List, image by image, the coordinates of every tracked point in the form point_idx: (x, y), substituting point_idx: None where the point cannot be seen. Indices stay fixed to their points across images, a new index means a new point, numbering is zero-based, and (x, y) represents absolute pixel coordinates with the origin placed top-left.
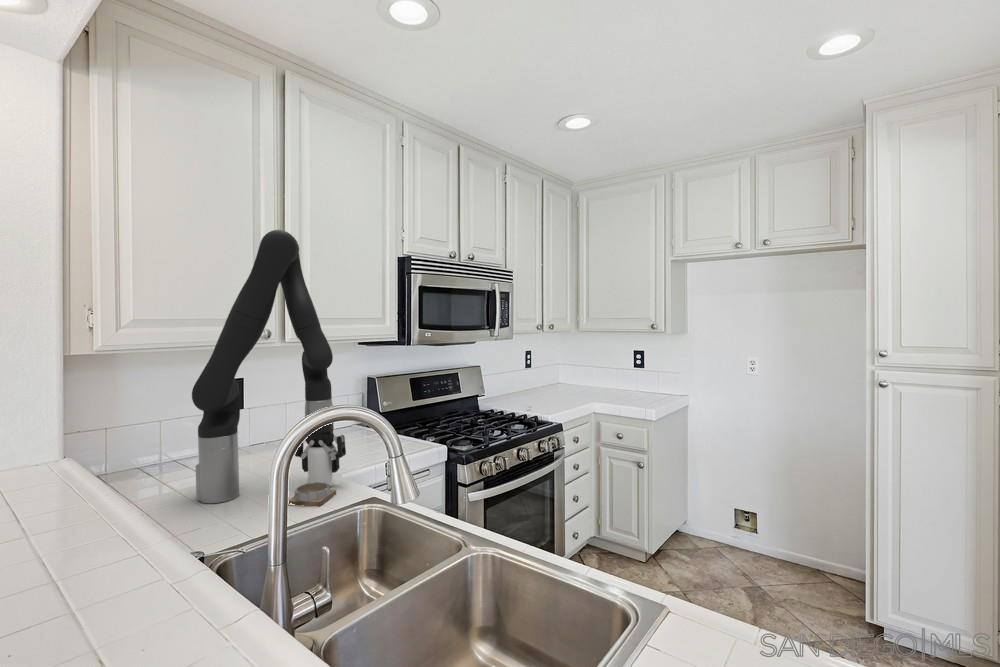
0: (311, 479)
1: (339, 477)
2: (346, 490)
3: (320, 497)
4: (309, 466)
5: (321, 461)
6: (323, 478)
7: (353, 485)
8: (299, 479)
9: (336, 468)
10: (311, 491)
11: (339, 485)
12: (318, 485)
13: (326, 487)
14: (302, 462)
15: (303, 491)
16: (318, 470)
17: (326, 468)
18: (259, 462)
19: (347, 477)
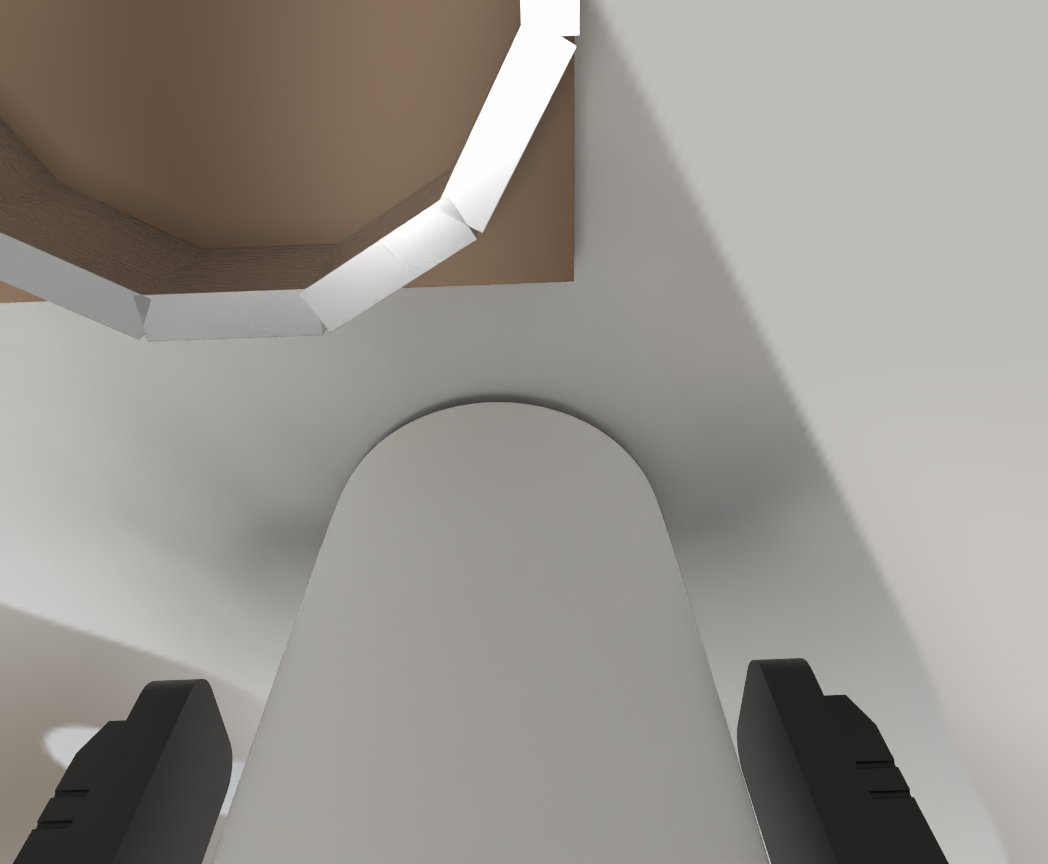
0: (558, 489)
1: None
2: (19, 449)
3: None
4: (642, 702)
5: (272, 860)
6: (341, 540)
7: (82, 612)
8: (909, 692)
9: (86, 762)
10: (380, 165)
11: (267, 592)
12: (260, 273)
13: (31, 211)
14: (921, 843)
15: (496, 72)
16: (389, 627)
17: (263, 724)
18: None
19: None
